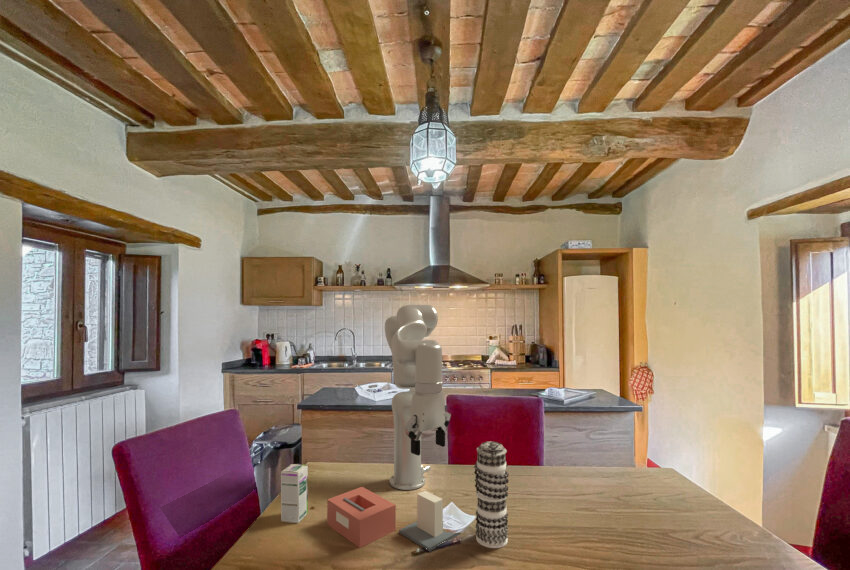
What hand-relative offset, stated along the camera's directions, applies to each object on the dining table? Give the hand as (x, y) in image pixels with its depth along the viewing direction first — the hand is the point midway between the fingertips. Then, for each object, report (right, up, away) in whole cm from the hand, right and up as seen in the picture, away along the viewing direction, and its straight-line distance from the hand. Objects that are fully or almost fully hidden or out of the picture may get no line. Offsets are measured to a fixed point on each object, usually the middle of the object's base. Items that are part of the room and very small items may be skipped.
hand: (428, 449), depth 117 cm
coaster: (0, -22, -2) cm, 22 cm away
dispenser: (-19, -22, +1) cm, 29 cm away
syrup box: (-39, -23, +7) cm, 46 cm away
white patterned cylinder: (+17, -22, -4) cm, 28 cm away
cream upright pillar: (0, -22, -1) cm, 22 cm away
